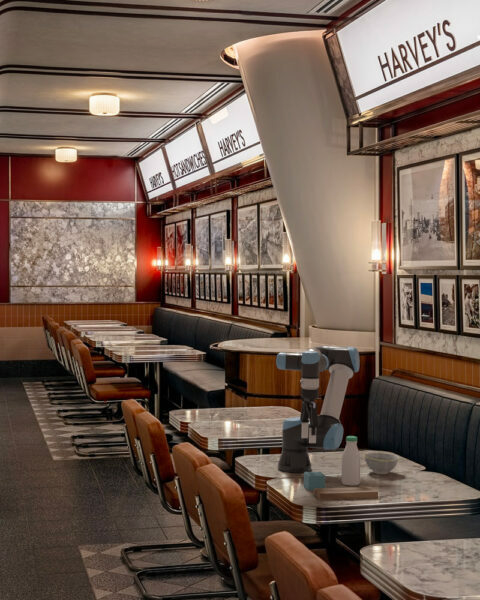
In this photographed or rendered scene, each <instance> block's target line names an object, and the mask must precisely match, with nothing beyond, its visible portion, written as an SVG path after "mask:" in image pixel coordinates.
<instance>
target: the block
mask: <svg viewBox="0 0 480 600" xmlns="http://www.w3.org/2000/svg"><path fill="white" fill-rule="evenodd" d="M303 487H304V488H305V489H306V490H307V491H314V489H318V488H326V475H325V474H324V473H322V472H321V471H308V472H303Z"/></svg>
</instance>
